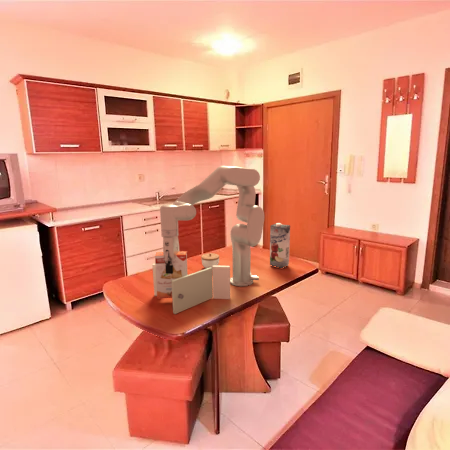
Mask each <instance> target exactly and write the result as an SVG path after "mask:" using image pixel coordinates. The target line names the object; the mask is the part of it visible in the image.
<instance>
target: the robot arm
mask: <svg viewBox="0 0 450 450" xmlns="http://www.w3.org/2000/svg"><path fill="white" fill-rule="evenodd" d="M260 181H261V175H260V172H259V171H258V170H257V169H255V168H249V167H240V166H234V165H233V166H232V165H220V166H218V167H217V168H216V169H214V171H213V172H211V173H210V174H209V175H208V176H207V177H206V178H205V179H204V180H203V181H202V182H200V183H199V184H198V185H196V186H193V187H191V188H190V189H189V190H187V191H185V192H184V193H183V194H181V195H180V196H179V197H178V198H177V199H176V200H175V201H174V202H173V204H162V205H161V206H160V208H159V214H160V215H159V217H160V230H161V231H160V233H161V237H162V252H163V256H164V259H165V266H166V274H173V265H172V259H175V258H176V254H177V253H178V252H179V251H180V243H179V242H180V241H179V236H180V235H179V234H180V233H179V221H191V220H193V219H194V218H195V217H196V215H197V208H196V207H195V206H194V205H195V204H197V203H199V202H203V201H207V200H210V199H211V198H213V197H215V196H216V195H217V193H219V192H220V191H221V190H222V189H223V188H224V187H225V186H226V185H231V186H236V188H237V190H238V199H237V200H238V201H237V205H236V215H235V216H236V218H237V220H239V221H241V222H244V223H246V224H244V223H236V224H234V225H233V226H232V227H231V228H230V240H231V245H232V246H231V247H232V250H231V251H232V277H230V285H232V286H236V287H248V285H249V286H251V285H253V283H254V281H259V280H260V276H257V275H256V274H254V275H253V274H252V272H251V264H252V263H251V251H252V250H251V247H256V246H257V245H259V244H260V242H261V239H262V234H263V229H264V222H265V212H264V209H263V208H262V207H261V206H259V205H258V204H257V205H256V197H257V196H256V194H257V193H256V189H255V186H257V185H258V184H259V182H260ZM169 257H171V258H169ZM168 260H170V261H168Z"/></svg>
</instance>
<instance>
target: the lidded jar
mask: <svg viewBox="0 0 450 450" xmlns="http://www.w3.org/2000/svg"><path fill="white" fill-rule="evenodd" d="M201 264H202V266H203V268H204V269H207V268H210V267H211V268H212V271H213V265H218V266H219V265H220V254H218V253H212V252H208V253H204V254H202V255H201Z"/></svg>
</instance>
